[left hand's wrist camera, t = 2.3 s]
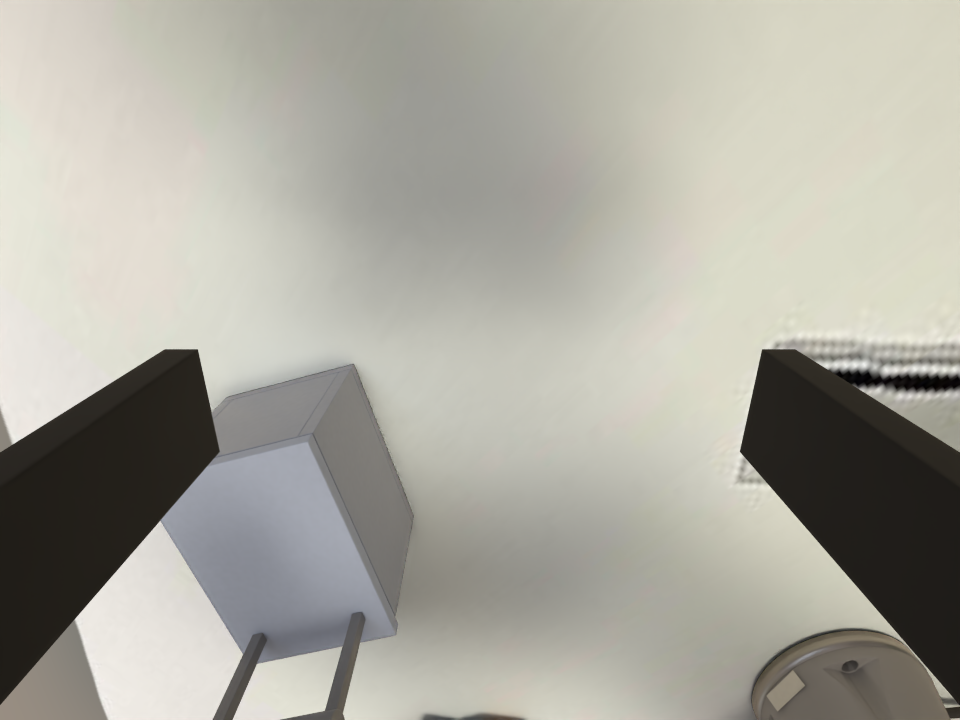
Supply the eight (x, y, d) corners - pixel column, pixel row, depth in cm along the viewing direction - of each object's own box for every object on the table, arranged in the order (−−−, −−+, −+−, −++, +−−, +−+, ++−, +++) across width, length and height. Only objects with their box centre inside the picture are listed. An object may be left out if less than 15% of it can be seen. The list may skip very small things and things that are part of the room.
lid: (398, 623, 33) (372, 773, 25) (255, 653, 34) (186, 806, 26) (312, 433, 28) (245, 545, 20) (146, 474, 29) (19, 597, 21)
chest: (413, 515, 42) (395, 616, 33) (300, 541, 43) (251, 646, 34) (353, 363, 37) (313, 432, 28) (226, 396, 38) (147, 474, 29)
